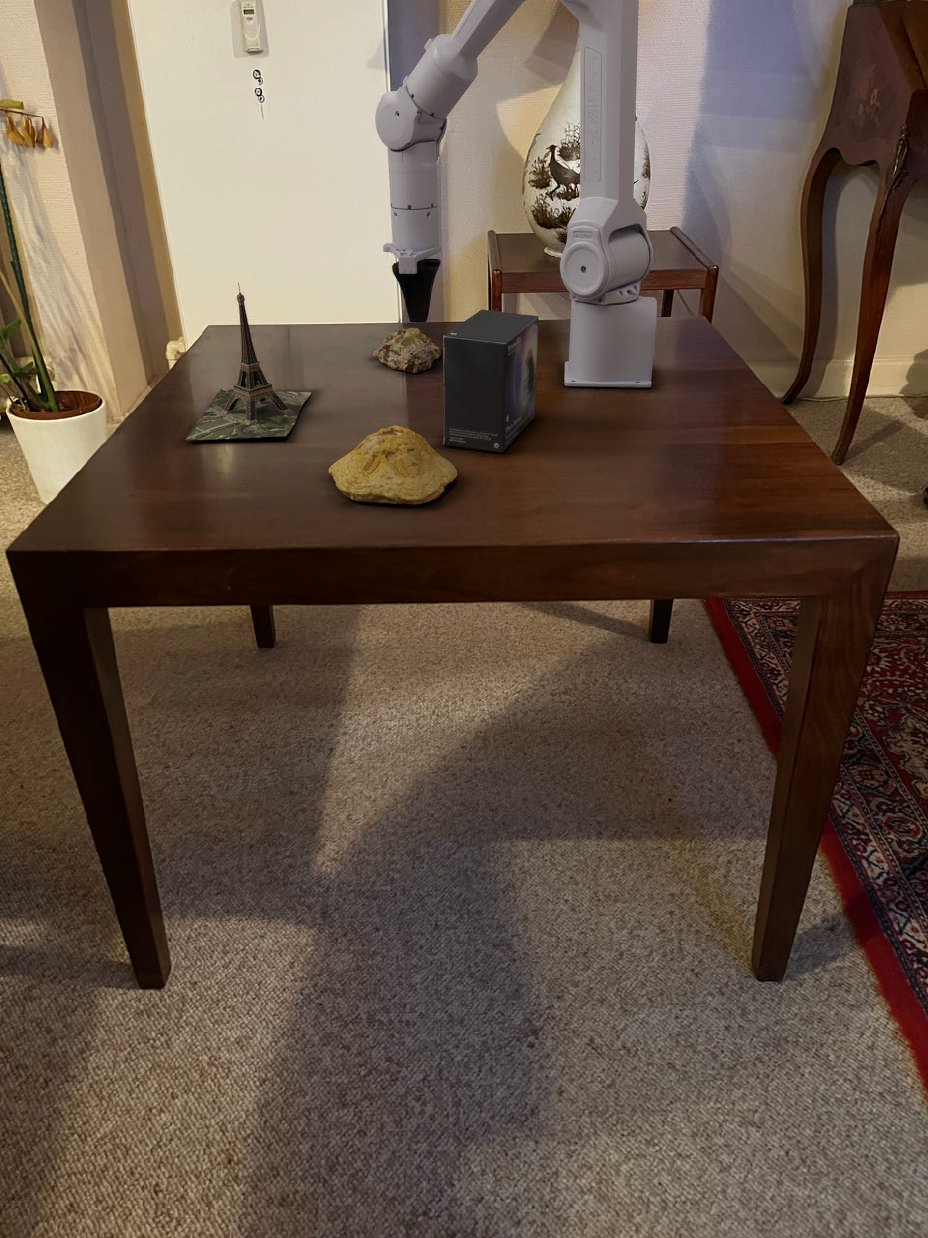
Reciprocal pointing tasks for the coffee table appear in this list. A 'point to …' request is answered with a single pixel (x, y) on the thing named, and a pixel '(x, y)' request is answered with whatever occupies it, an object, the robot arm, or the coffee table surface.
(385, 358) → the mineral rock
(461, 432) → the small box
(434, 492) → the fossil
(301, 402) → the eiffel tower figurine
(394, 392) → the coffee table surface
